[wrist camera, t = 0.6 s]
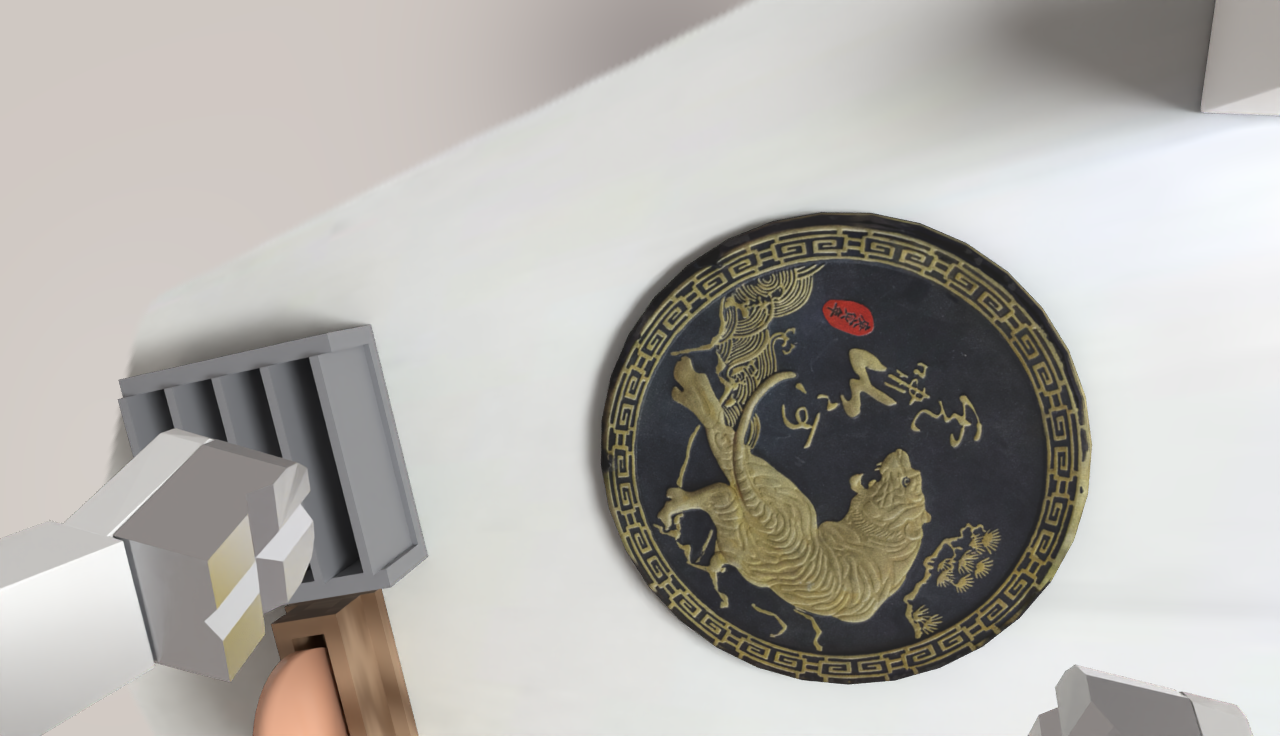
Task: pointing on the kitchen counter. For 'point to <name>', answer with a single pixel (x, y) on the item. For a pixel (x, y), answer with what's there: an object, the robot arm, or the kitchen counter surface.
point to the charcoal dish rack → (304, 445)
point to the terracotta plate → (301, 698)
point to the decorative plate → (846, 448)
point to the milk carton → (1243, 59)
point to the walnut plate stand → (354, 658)
